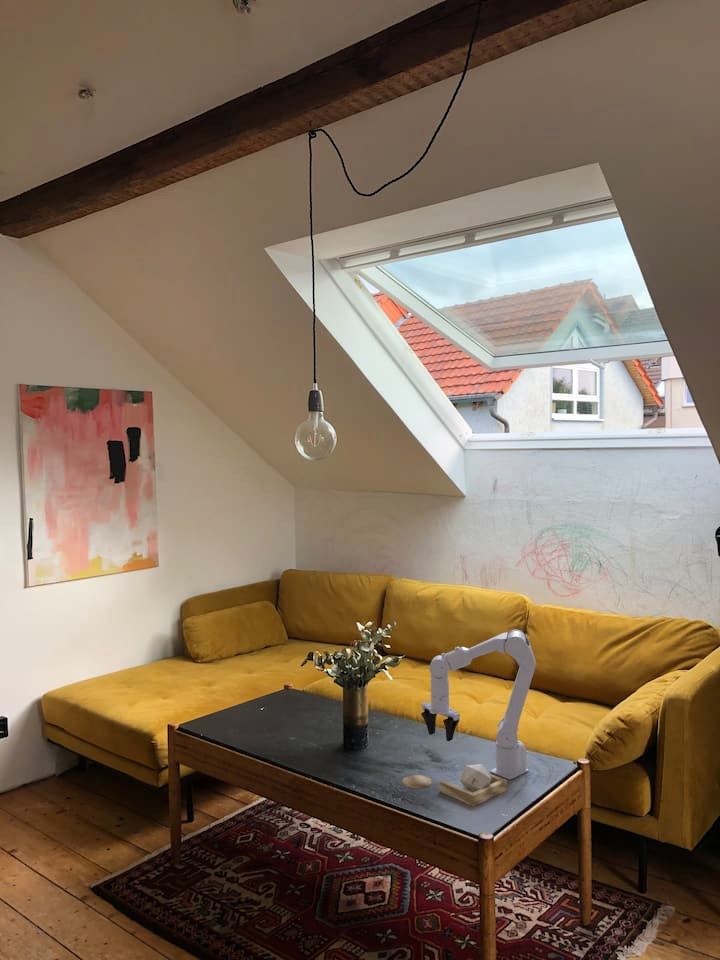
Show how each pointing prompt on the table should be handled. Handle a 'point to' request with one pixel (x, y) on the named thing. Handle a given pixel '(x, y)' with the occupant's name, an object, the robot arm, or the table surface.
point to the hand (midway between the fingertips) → (440, 737)
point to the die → (475, 777)
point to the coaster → (417, 781)
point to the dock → (476, 797)
